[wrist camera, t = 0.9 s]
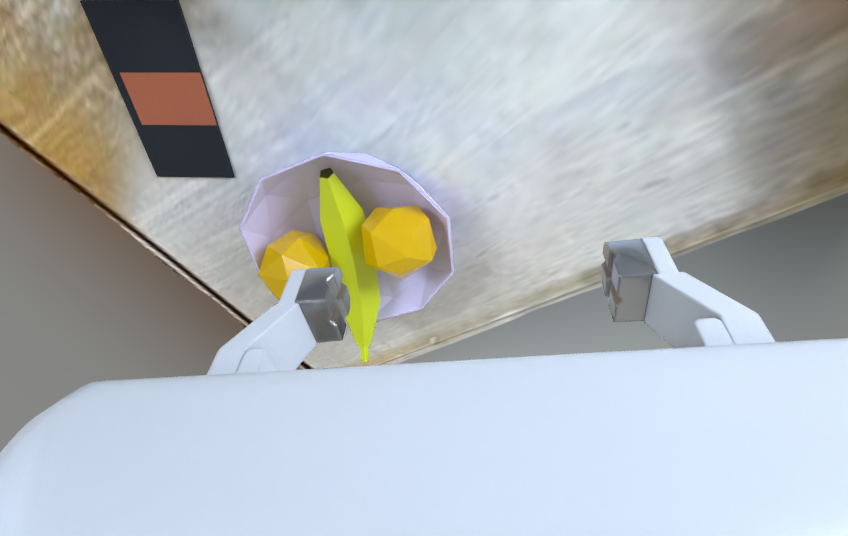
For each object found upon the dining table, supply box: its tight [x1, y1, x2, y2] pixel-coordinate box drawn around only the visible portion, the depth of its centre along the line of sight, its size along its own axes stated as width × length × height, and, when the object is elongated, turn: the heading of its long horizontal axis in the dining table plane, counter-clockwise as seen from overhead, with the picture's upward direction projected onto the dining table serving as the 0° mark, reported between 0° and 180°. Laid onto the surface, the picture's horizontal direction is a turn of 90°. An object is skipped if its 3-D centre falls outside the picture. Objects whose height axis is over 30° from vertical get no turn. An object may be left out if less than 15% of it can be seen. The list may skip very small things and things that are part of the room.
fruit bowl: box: [239, 152, 454, 362], centre depth 61 cm, size 28×27×11 cm
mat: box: [80, 0, 235, 178], centre depth 55 cm, size 20×10×1 cm, turn 1°
